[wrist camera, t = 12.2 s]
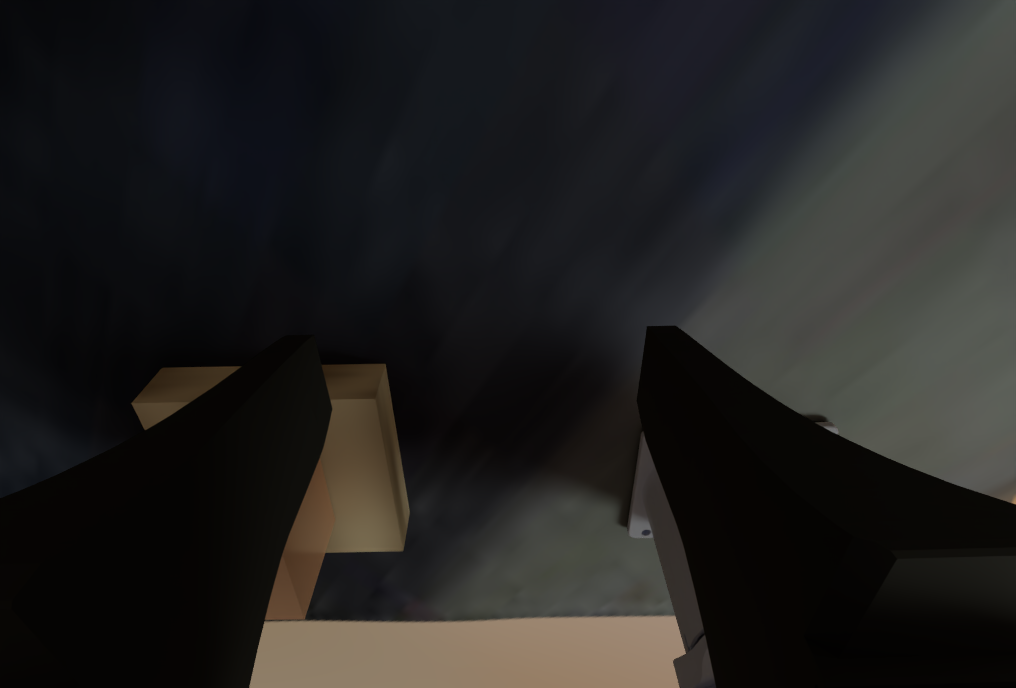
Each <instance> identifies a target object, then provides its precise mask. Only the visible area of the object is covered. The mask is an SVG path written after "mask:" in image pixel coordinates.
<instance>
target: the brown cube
mask: <svg viewBox="0 0 1016 688" xmlns="http://www.w3.org/2000/svg"><path fill="white" fill-rule="evenodd" d="M334 523H335V517H334V513H333V509H332V505H331V501H330V496H329V492H328V488H327V484H326V480H325V476H324V472H323V468H322V464H321V460H320V458H319V461H318V464H317V466H316V469H315V471H314V474H313V476H312V479H311V482H310V484H309V487H308V489H307V492H306V494H305V497H304V499H303V502H302V504H301V507H300V509H299V512H298V514H297V517H296V519H295V522H294V524H293V527H292V529H291V532H290V534H289V537H288V540H287V543H286V545H285V548H284V551H283V554H282V557H281V561H280V564H279V568H278V572H277V575H276V579H275V583H274V586H273V590H272V593H271V597H270V601H269V605H268V609H267V613H266V617H265V620H287V619H305V616H306V613H307V610H308V606H309V603H310V600H311V597H312V594H313V590H314V587H315V584H316V581H317V577H318V574H319V571H320V568H321V565H322V561H323V558H324V555H325V552H326V548H327V545H328V542H329V539H330V535H331V532H332V529H333V526H334Z"/></svg>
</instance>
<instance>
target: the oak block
mask: <svg viewBox="0 0 1016 688" xmlns="http://www.w3.org/2000/svg"><path fill="white" fill-rule="evenodd" d="M240 367H242V366H232V367H176V368H162V369H161V370H160V371H159V372H158V373H157V374H156V375H155V377H154V378H153V379H152V380H151V381H150V382H149V383H148V385H147V386H146V387H145V388H144V389H143V390H142V392H141V393H140V394H139V395H138V396H137V397H136V398H135V400H134V401H133V402H132V403H131V404H132V406H133V408H134V410H135V411H136V413H137V415H138V417H139V419H140V421H141V423H142V425H143V427H144V429H145V430H147V429H148V428H150V427H152V426H153V425H155V424H157V423H159V422H160V421H162V420H164V419H165V418H167V417H168V416H170V415H172V414H173V413H175V412H176V411H178V410H179V409H181V408H182V407H184V406H185V405H187V404H188V403H190V402H191V401H193V400H194V399H196V398H197V397H199V396H200V395H202V394H203V393H205V392H206V391H208V390H209V389H211V388H212V387H214V386H215V385H217V384H218V383H219V382H221V381H222V380H224V379H225V378H226V377H228V376H229V375H230V374H232V373H233V372H235V371H236V370H237V369H239V368H240ZM322 369H323V373H324V377H325V381H326V385H327V388H328V392H329V396H330V400H331V404H332V408H333V409H332V413H331V418H330V423H329V427H328V432H327V436H326V440H325V444H324V448H323V450H322V453H321V456H320V460H321V464H322V468H323V472H324V476H325V480H326V484H327V488H328V492H329V496H330V501H331V505H332V509H333V513H334V517H335V523H334V526H333V529H332V532H331V535H330V539H329V542H328V545H327V548H326V552H325V553H330V552H381V551H403V549H404V543H405V537H406V531H407V525H408V519H409V513H410V512H409V505H408V499H407V493H406V487H405V481H404V475H403V469H402V462H401V456H400V450H399V444H398V438H397V432H396V425H395V419H394V413H393V407H392V401H391V395H390V388H389V382H388V376H387V370H386V364H344V365H322Z"/></svg>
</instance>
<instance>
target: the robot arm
mask: <svg viewBox="0 0 1016 688" xmlns="http://www.w3.org/2000/svg"><path fill="white" fill-rule="evenodd" d="M637 404H638V409H639V414H640V419H641V423H642V428H643V431H642V433H641V438H640V445H639V452H638V458H637V465H636V472H635V478H634V485H633V492H632V498H631V505H630V511H629V518H628V525H627V531H628V535H629V536H630V537H633V538H654V541H655V545H656V548H657V552H658V555H659V559H660V563H661V566H662V570H663V573H664V577H665V580H666V584H667V587H668V591H669V594H670V598H671V602H672V605H673V609H674V612H675V616H676V619H677V623H678V626H679V630H680V634H681V637H682V640H683V644H684V648H685V651H686V654H685V655H683V656H681V657H679V658H676V659H674V661H673V663H674V667H675V671H676V675H677V679H678V683H679V687H680V688H1016V505H1015V504H1012V503H1009V502H1006V501H1003V500H1000V499H997V498H994V497H991V496H988V495H985V494H982V493H979V492H975V491H972V490H969V489H966V488H963V487H960V486H957V485H955V484H952V483H949V482H946V481H944V480H941V479H939V478H936V477H933V476H931V475H928V474H926V473H923V472H920V471H918V470H915V469H913V468H910V467H908V466H905V465H903V464H900V463H898V462H896V461H893V460H891V459H889V458H886V457H884V456H882V455H879V454H877V453H875V452H873V451H871V450H869V449H866V448H864V447H862V446H860V445H858V444H856V443H854V442H852V441H849V440H847V439H845V438H843V437H841V436H839V435H838V429H837V427H836V426H835V425H834V424H833V423H831V422H813V421H811V420H809V419H808V418H806V417H804V416H802V415H801V414H799V413H797V412H795V411H794V410H792V409H790V408H789V407H787V406H785V405H784V404H782V403H781V402H779V401H777V400H776V399H774V398H773V397H771V396H770V395H768V394H767V393H765V392H764V391H762V390H761V389H759V388H758V387H756V386H755V385H753V384H752V383H751V382H749V381H748V380H746V379H745V378H744V377H742V376H741V375H739V374H738V373H737V372H735V371H734V370H733V369H731V368H730V367H729V366H727V365H726V364H725V363H723V362H722V361H721V360H720V359H718V358H717V357H716V356H714V355H713V354H712V353H711V352H709V351H708V350H707V349H705V348H704V347H703V346H702V345H700V344H699V343H698V342H697V341H695V340H694V339H693V338H691V337H690V336H689V335H688V334H686V333H685V332H684V331H682V330H681V329H679V328H678V327H677V326H647V331H646V338H645V345H644V353H643V360H642V367H641V374H640V381H639V389H638V396H637ZM332 409H333V408H332V404H331V400H330V396H329V392H328V388H327V385H326V381H325V377H324V373H323V369H322V365H321V361H320V357H319V353H318V349H317V345H316V341H315V337H314V335H292V336H285V337H283V338H281V339H280V340H278V341H276V342H275V343H273V344H272V345H271V346H269V347H268V348H266V349H265V350H263V351H262V352H261V353H259V354H258V355H257V356H255V357H254V358H252V359H251V360H250V361H248V362H247V363H246V364H244V365H243V366H242V367H240V368H239V369H237V370H236V371H235V372H233V373H232V374H230V375H229V376H228V377H226V378H225V379H224V380H222V381H221V382H219V383H218V384H217V385H215V386H214V387H212V388H211V389H209V390H208V391H206V392H205V393H203V394H202V395H200V396H199V397H197V398H196V399H194V400H193V401H191V402H190V403H188V404H187V405H185V406H184V407H182V408H181V409H179V410H178V411H176V412H175V413H173V414H172V415H170V416H168V417H167V418H165V419H164V420H162V421H160V422H159V423H157V424H155V425H153V426H152V427H150V428H148V429H147V430H145V431H143V432H141V433H139V434H138V435H136V436H134V437H132V438H130V439H129V440H127V441H125V442H123V443H121V444H119V445H118V446H116V447H114V448H112V449H110V450H108V451H106V452H104V453H102V454H99V455H97V456H95V457H93V458H91V459H89V460H87V461H85V462H83V463H81V464H79V465H77V466H74V467H72V468H70V469H68V470H66V471H64V472H62V473H60V474H58V475H55V476H53V477H51V478H49V479H46V480H44V481H42V482H39V483H37V484H35V485H32V486H30V487H28V488H25V489H23V490H20V491H18V492H15V493H13V494H10V495H8V496H5V497H3V498H0V688H249V685H250V681H251V676H252V672H253V667H254V663H255V658H256V653H257V649H258V645H259V641H260V637H261V633H262V629H263V625H264V621H265V617H266V613H267V609H268V605H269V601H270V597H271V593H272V590H273V586H274V583H275V579H276V575H277V572H278V568H279V564H280V561H281V557H282V554H283V551H284V548H285V545H286V543H287V540H288V537H289V534H290V532H291V529H292V527H293V524H294V522H295V519H296V517H297V514H298V512H299V509H300V507H301V504H302V502H303V499H304V497H305V494H306V492H307V489H308V487H309V484H310V482H311V479H312V476H313V474H314V471H315V469H316V466H317V464H318V461H319V458H320V456H321V453H322V450H323V448H324V444H325V440H326V436H327V432H328V427H329V423H330V418H331V413H332Z"/></svg>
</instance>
